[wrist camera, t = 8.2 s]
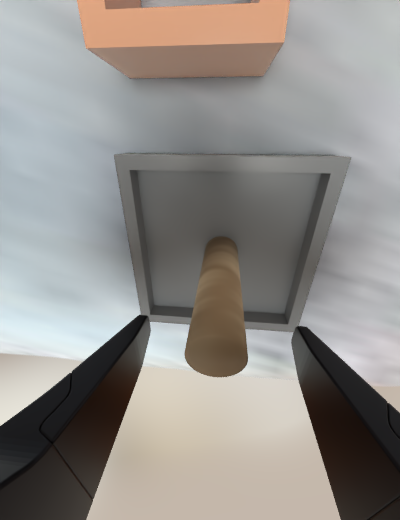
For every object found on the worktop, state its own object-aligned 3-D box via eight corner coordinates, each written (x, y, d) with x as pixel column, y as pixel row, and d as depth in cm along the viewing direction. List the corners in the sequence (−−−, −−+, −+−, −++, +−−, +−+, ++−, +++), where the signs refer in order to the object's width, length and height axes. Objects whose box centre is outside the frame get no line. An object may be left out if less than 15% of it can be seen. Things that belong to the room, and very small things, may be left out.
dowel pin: (204, 264, 17) (185, 373, 9) (205, 235, 15) (183, 332, 8) (236, 265, 16) (244, 380, 9) (238, 237, 15) (251, 339, 7)
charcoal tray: (149, 305, 20) (142, 320, 19) (127, 153, 14) (113, 154, 12) (289, 315, 19) (296, 332, 18) (334, 155, 13) (351, 157, 11)
